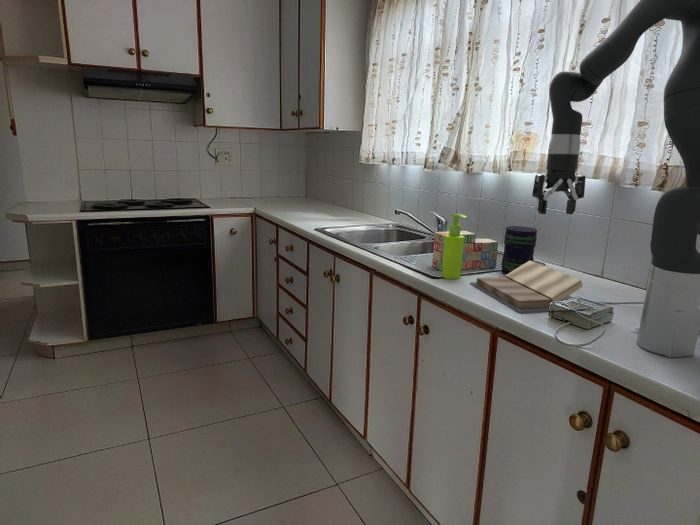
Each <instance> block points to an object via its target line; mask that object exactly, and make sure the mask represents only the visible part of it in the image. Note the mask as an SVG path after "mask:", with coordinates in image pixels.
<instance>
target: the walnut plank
mask: <svg viewBox="0 0 700 525" xmlns="http://www.w3.org/2000/svg"><path fill="white" fill-rule="evenodd" d="M476 282H477V283H476V284H477V285H479V286H480V287H482V288H484V289H486V290H487V291H489V292H491V293H492V294H494V295H496V296H498V297H499V298H501V299H503V300H505V301H506V302H508V303H510V304H512V305H513V306H515V307H517V308H519V309H522V308H541V307H550V303H551V299H549V298H547V297H545V296H543V295H541V294H539V293H537V292H534V291H532V290H530V289H528V288H526V287H524V286H522V285H520V284H518V283H516V282H514V281H512V280H510V279H508V278H506V276H489V277H488V276H487V277H485V276H483V277H476Z"/></svg>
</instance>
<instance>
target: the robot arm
mask: <svg viewBox="0 0 700 525" xmlns="http://www.w3.org/2000/svg"><path fill="white" fill-rule="evenodd" d="M665 19H666V20H672V21H679V22H680V25H681V32H682V34H681V35H682V47H681V50H680V52H681V53H680V56H679V58H678V60H677V62H676V64H675V66H674V68H673V69H672V71H671V73H670V74H669V77H668V79H667V81H666V83H665V86H664V89H663V120H664V125H665V129H666V131H667V134H668V136H669V138H670V140H671V141H672V144H673V145H674V148H675V149H676V151H677V152H678V154H679V156H680V158H681V160H682V162H683V167H684V172H685V174H684V175H685V186H684V187H682V186H680V187H679V186H678V187H673V188H670V189H668V190H666V191H665V192H664V193H663V194H662V195H661V196H660V198H659V199H658V201H657V204H656V206H655V209H654V214H653V221H652V230H651V236H650V237H651V239H650V244H649V245H650V246H649V247H650V253H651V264H650V270H649V275H648V279H647V280H648V281H647V286H646V289H645V290H646V292H645V297H644V299H643V300H644V301H643V306H642V311H641V317H640V322H639V328H638V334H637V339H636V340H637V341H636V344H637V345H638V346H639V347H640V348H642V349H644V350H646V351H649V352H652V353H654V354H657V355H662V356H666V357H667V358H670V359H671V358H680V357H681V358H682V357H692V356H694V355H695V351H696V346H697V343H698V338H699V332H700V309H699V308H700V252H699V251H698V250H697V239H698V235H700V0H639V1H638V2H637V3H636V4H635V5H634V6H633V8H632V9H631V10H630V11H629V13H628V14H626V16H625V18H624V19H623V20H621V22H620V24H618V25H617V27H616V28H615V29H614V30H613V31H612V32H611V33H610V34H609V35H608V36H607V37H606V38H604V39H603V41H602V42H601V43H599V44H598V45H597V46H596V47H595V48H594V49H592V50H591V51H590V52H589V53H588V54H586V56H584V58H583V59H582V60H581V62H580V63H579V66H578V67H579V72H574V71H560V72H558V73H556V74H555V75H554V77H553V78H552V80H551V81H550V85H549V89H548V90H549V91H548V92H549V93H548V94H549V102H550V107H551V114H552V126H551V134H550V139H549V143H548V151H547V160H546V169H545V170H546V174H539V173H538V174H536V175H535V177H534V180H533V181H534V183H533V188H532V197H533V198H536V199H537V200H538V202H537V203H538V205H537V213H538V214H539V215H546V213H547V207H548V206H547V205H548V199H549V197H550V196H551V195H552V194H554V193H555V192H563V193H564V194H565V195H566V197H567V201H566V209H565V213H566V215H574V213H575V211H576V206H577V205H576V204H577V201H578V200H579V199H583V198H584V197H585V188H586V187H585V186H586V176H585V175H582V174H581V175H576V171H578V167H579V166H578V165H579V157H580V151H581V150H580V149H581V132H582V127H583V126H582V125H583V114H582V113H581V112H579V111H578V110H575V109H573V107H572V102H573V103H581V102H584V101H586V100H588V99H590V98H591V96H593V95H594V94H595V92H596V91H597V89H598V88H599V87H600V86H601V84H602V83H603V81H604V80H605V79H606V78H607V77H609V76H610V75H611V74H612V73H614V72H615V71H616V70H618V69H619V68H620V67H621V66H623V65H624V64H625V63H626V62H627V61H628V60H629V58H630V57H631V56H632V54H633V52H634V50H635V48H636V45H637V43H638V41H639V39H640V38H641V37H642V35H643V34H645V33H646V32H647V31H648V30H649V29H651V28H652V27H653V26H654V25H657V24H658V23H660V22H661V21H662V22H663V21H664V20H665ZM545 183H546V184H545ZM573 184H574V185H573Z"/></svg>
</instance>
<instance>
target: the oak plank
mask: <svg viewBox="0 0 700 525" xmlns="http://www.w3.org/2000/svg"><path fill="white" fill-rule="evenodd" d="M504 277H506V278H508V279H510V280H512V281H514V282H516V283H518V284H520V285H522V286H524V287H526V288H528V289H530V290H532V291H534V292H537V293H539V294H541V295H543V296H545V297H547V298H549V299H551V302H552V301H561V300H562V299H564V298H566V297H567V296H571V295H572V294H574V293H575V292H577V291H579V290H580V289H581V288H583V283H582V280H581V279H579V278H576V277H574V276H570V275H569V274H566V273H564V272H562V271H558V270H555V269H554V268H550V267H548V266H545V265H543V264H540V263H537V262H535V261H528V262H526V263H525V264H523V265H522V266H520V267H518V268H517V269H515V270H513V271H512V272H510V273H509V274H507V275H505V274H504Z"/></svg>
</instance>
